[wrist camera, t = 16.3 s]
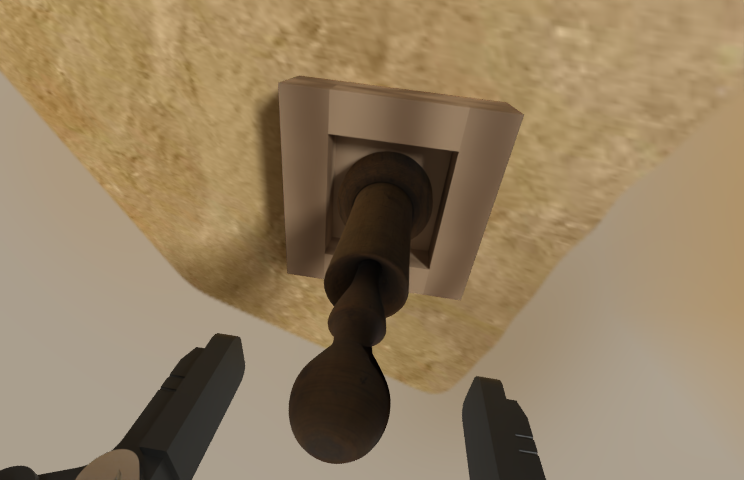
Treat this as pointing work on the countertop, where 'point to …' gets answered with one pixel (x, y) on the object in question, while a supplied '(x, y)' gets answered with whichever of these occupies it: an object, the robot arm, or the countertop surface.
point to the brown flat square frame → (402, 135)
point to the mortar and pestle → (361, 307)
